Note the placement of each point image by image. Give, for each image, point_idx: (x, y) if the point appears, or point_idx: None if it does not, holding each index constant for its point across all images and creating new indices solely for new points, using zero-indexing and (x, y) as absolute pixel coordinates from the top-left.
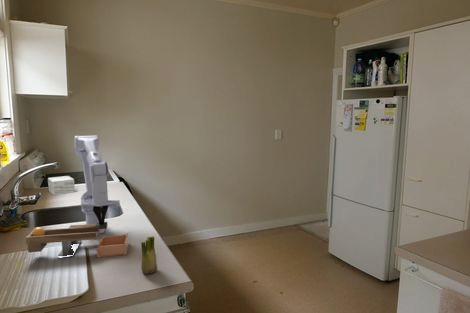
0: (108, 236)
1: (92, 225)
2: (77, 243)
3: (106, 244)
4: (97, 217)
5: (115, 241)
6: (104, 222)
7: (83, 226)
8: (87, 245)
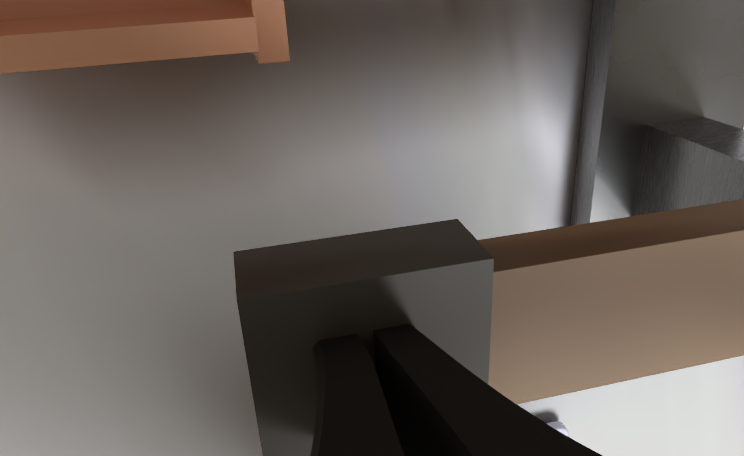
0: (133, 43)
1: (554, 317)
2: (621, 112)
3: (185, 7)
4: (548, 428)
5: (5, 27)
6: None
7: (717, 260)
8: (484, 103)
